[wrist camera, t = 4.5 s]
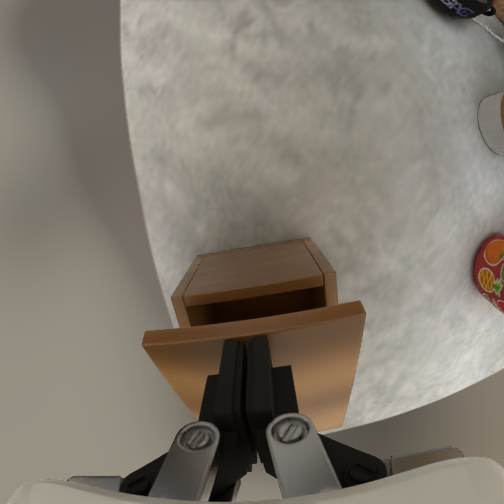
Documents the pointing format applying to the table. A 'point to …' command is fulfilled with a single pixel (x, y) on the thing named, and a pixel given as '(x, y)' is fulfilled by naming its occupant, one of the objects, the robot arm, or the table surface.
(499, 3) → the figurine
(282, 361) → the lid
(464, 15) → the mug
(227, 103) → the table surface
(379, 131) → the table surface
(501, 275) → the smoothie
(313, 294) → the box
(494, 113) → the coffee cup
